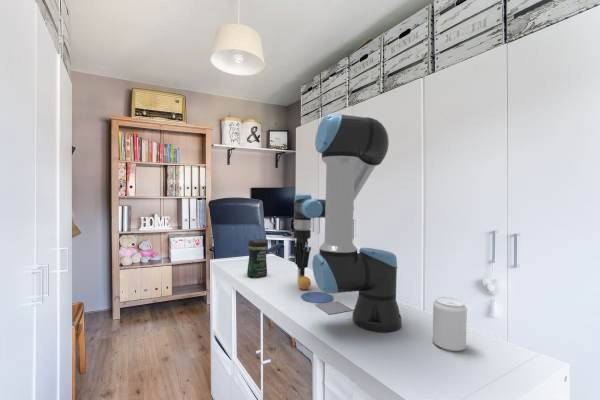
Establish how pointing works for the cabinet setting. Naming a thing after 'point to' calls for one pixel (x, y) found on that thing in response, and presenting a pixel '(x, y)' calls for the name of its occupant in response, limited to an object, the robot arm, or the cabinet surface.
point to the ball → (304, 282)
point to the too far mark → (333, 307)
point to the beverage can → (449, 323)
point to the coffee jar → (257, 258)
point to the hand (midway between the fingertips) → (300, 282)
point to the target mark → (317, 297)
